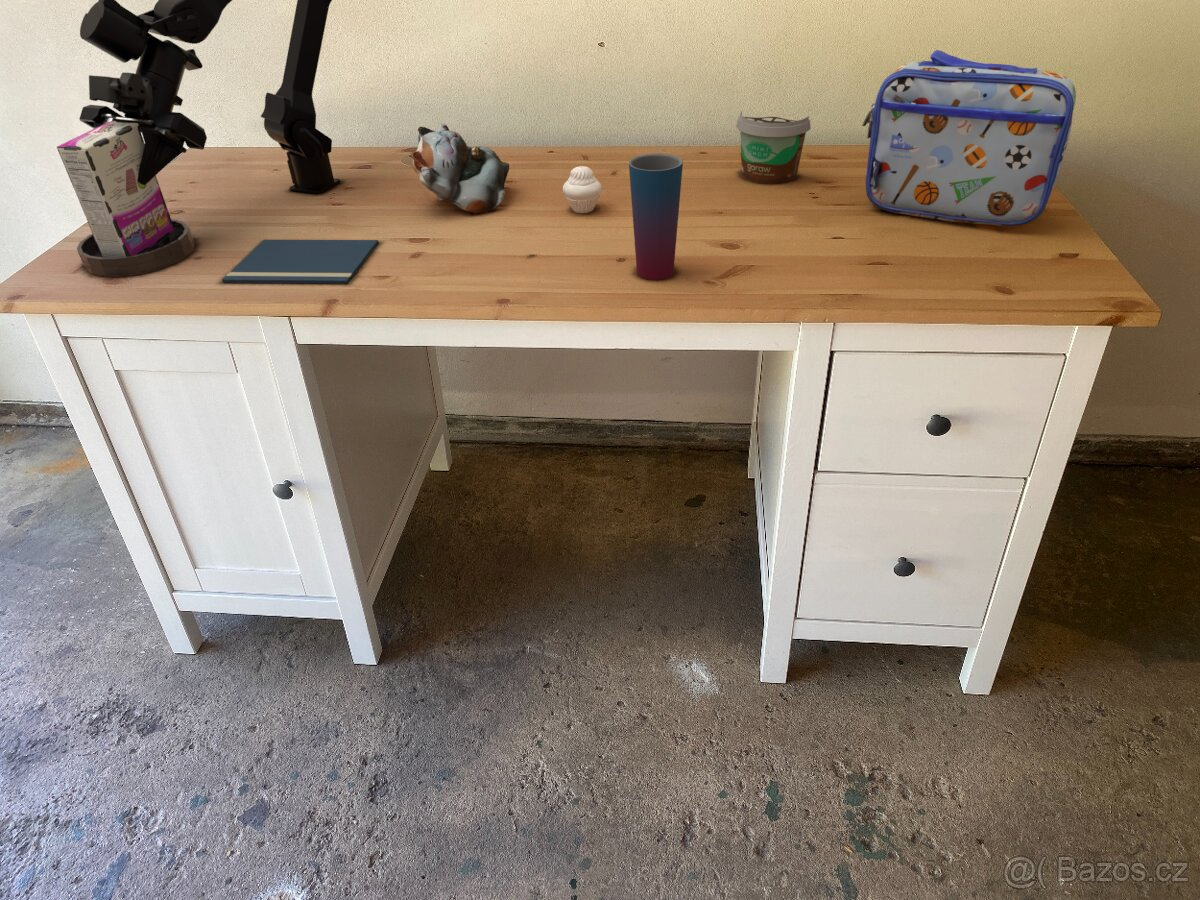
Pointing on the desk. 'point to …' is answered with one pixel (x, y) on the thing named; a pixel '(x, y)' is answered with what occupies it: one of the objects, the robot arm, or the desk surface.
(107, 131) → the candy bar box
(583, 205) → the muffin
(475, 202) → the lucky cat figurine
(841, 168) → the desk surface
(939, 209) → the lunch box
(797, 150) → the food container
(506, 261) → the desk surface
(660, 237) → the cup
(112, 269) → the pan
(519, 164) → the desk surface
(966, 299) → the desk surface
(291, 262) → the notebook
